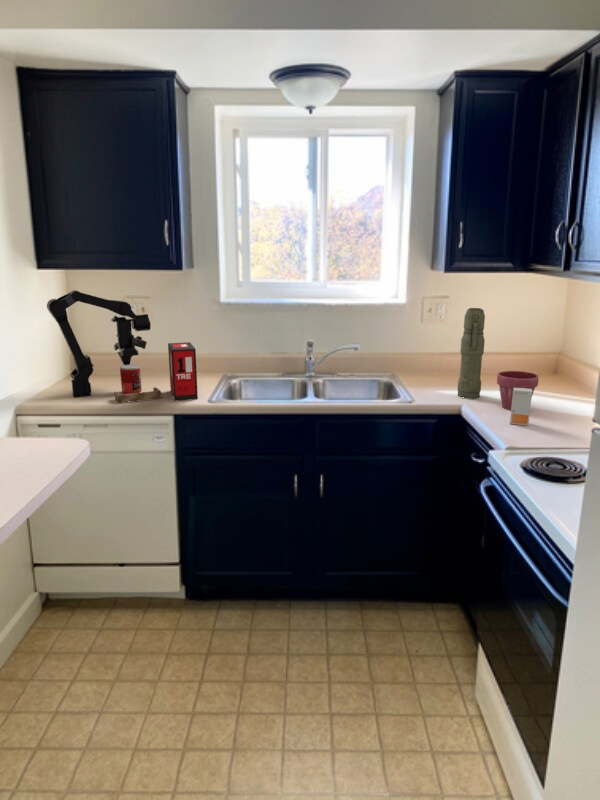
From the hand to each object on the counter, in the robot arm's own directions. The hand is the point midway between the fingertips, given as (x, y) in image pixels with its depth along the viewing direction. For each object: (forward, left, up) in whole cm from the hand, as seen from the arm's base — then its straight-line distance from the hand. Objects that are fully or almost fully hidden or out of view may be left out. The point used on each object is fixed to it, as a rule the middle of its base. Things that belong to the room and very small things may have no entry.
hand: (127, 369), depth 241 cm
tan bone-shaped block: (0, -18, -9) cm, 20 cm away
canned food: (0, -6, -9) cm, 11 cm away
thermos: (+119, -74, -9) cm, 140 cm away
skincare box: (+108, -110, -9) cm, 154 cm away
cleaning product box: (+18, -20, -9) cm, 28 cm away
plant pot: (+122, -95, -9) cm, 155 cm away
